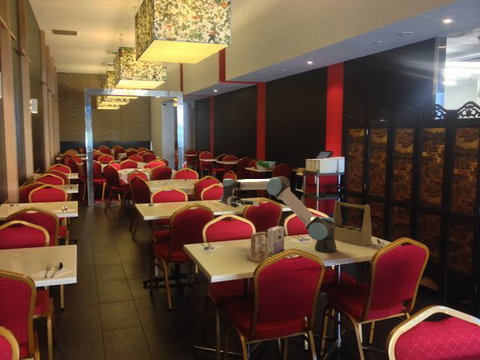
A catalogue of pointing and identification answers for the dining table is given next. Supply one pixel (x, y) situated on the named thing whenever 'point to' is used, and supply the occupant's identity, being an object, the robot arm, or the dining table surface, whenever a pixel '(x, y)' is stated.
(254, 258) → the ledge
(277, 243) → the candy box
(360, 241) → the caddy
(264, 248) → the wooden block
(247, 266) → the dining table surface
